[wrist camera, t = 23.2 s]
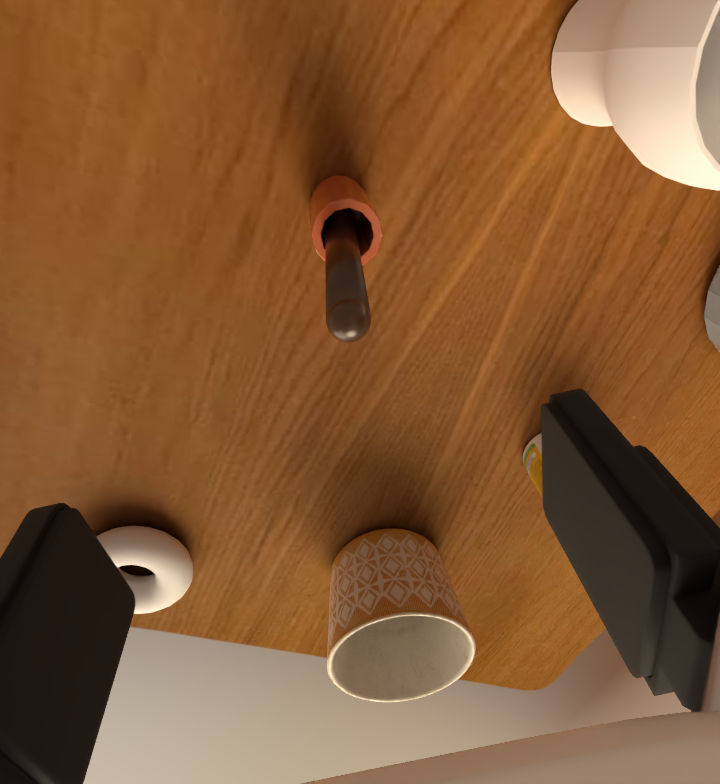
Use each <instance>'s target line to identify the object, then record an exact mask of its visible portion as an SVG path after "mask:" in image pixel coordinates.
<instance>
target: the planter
mask: <svg viewBox="0 0 720 784" xmlns="http://www.w3.org/2000/svg"><path fill="white" fill-rule="evenodd" d="M475 650H476V646H475V641H474V638H473V635H472V633H471V630H470V628H469V626H468V623H467V621H466V618H465V616H464V613H463V611H462V608H461V606H460V603H459V601H458V599H457V596H456V594H455V591H454V589H453V586H452V584H451V581H450V579H449V576H448V574H447V572H446V569H445V567H444V564H443V562H442V559H441V557H440V554H439V552H438V551H437V549H436V547H435V546H434V545H433V544H432V543H431V542H430V541H429V540H428V539H426V538H425V537H423V536H422V535H419V534H417V533H415V532H412V531H409V530H404V529H380V530H375V531H372V532H368V533H365V534H363V535H361V536H359V537H357V538H355V539H353V540H352V541H351V542H349V543H348V544H347V545H346V546H345V547H344V548H343V549H342V550H341V551H340V552H339V553H338V555H337V557H336V558H335V560H334V562H333V565H332V570H331V584H330V607H329V629H328V651H327V671H328V674H329V677H330V678H331V680H332V682H333V683H334V684H335V685H336V686H337V687H338V688H339V689H341V690H342V691H343V692H345V693H347V694H349V695H351V696H354V697H357V698H360V699H364V700H368V701H376V702H399V701H407V700H412V699H417V698H420V697H424V696H427V695H430V694H433V693H435V692H437V691H439V690H441V689H443V688H445V687H447V686H449V685H450V684H452V683H453V682H455V681H456V680H457V679H459V678H460V677H461V676H462V675H463V674H464V673H465V672H466V671H467V669H468V668H469V666H470V665H471V663H472V661H473V659H474V656H475Z"/></svg>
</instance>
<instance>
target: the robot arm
mask: <svg viewBox="0 0 720 784" xmlns="http://www.w3.org/2000/svg"><path fill="white" fill-rule="evenodd" d="M541 437H542V491H543V507H544V511H545V515H546V517H547V520H548V522H549V524H550V525H551V527H552V529H553V531H554V533H555V535H556V537H557V538H558V540H559V542H560V544H561V546H562V548H563V549H564V551H565V553H566V555H567V557H568V559H569V561H570V562H571V564H572V566H573V568H574V570H575V572H576V573H577V575H578V577H579V579H580V581H581V583H582V585H583V586H584V588H585V590H586V592H587V594H588V596H589V597H590V599H591V601H592V603H593V605H594V607H595V609H596V610H597V612H598V614H599V616H600V618H601V620H602V621H603V623H604V625H605V627H606V629H607V630H608V632H609V634H610V636H611V638H612V640H613V642H614V644H615V645H616V647H617V649H618V651H619V653H620V654H621V657H622V658H623V660H624V662H625V664H626V666H627V668H628V669H629V671H630V672H631V673H632V675H633V676H634V677H635V678H640V677H644V678H645V680H646V682H647V684H648V686H649V687H650V689H651V691H652V693H653V695H654V696H656V695H661V694H665V693H671V692H675V694H676V695H677V697H678V699H679V700H680V702H681V704H682V705H683V706H684V707H686V708H688V709H690V710H691V712H683V713H676V714H667V715H660V716H652V717H644V718H636V719H629V720H623V721H618V722H612V723H607V724H601V725H596V726H591V727H585V728H580V729H574V730H569V731H563V732H558V733H552V734H546V735H541V736H535V737H530V738H525V739H520V740H515V741H510V742H505V743H500V744H495V745H490V746H485V747H480V748H475V749H470V750H465V751H460V752H455V753H450V754H445V755H440V756H435V757H430V758H425V759H420V760H416V761H410V762H405V763H401V764H395V765H390V766H385V767H380V768H376V769H370V770H366V771H361V772H356V773H351V774H346V775H341V776H336V777H331V778H327V779H322V780H317V781H312V782H307V783H303V784H720V528H719V527H718V526H717V525H716V524H715V523H714V521H713V520H712V519H711V518H710V517H709V516H708V515H707V514H706V513H705V511H704V510H703V509H702V508H701V507H700V506H699V505H698V504H697V503H696V501H695V500H694V499H693V498H692V497H691V496H690V495H689V494H688V493H687V491H686V490H685V489H684V488H683V487H682V486H681V485H680V484H679V483H678V481H677V480H676V479H675V478H674V477H673V476H672V475H671V474H670V473H669V471H668V470H667V469H666V468H665V467H664V466H663V465H662V464H661V463H660V461H659V460H658V459H657V458H656V457H655V456H654V455H653V454H652V453H651V452H650V451H649V450H648V449H647V448H646V447H643V446H640V445H639V446H635V447H633V446H632V445H631V444H630V443H629V441H628V440H627V439H626V438H625V437H624V436H623V435H622V433H621V432H620V431H619V430H618V429H617V428H616V426H615V425H614V424H613V423H612V422H611V421H610V420H609V418H608V417H607V416H606V415H605V414H604V413H603V411H602V410H601V409H600V408H599V407H598V406H597V405H596V403H595V402H594V401H593V400H592V399H591V398H590V396H589V395H588V394H587V393H586V392H585V391H584V390H583V389H580V388H579V389H575V390H570V391H566V392H561V393H557V394H552V395H551V396H550V399H549V403H546V404H543V405H542V407H541ZM134 611H135V596H134V593H133V591H132V589H131V588H130V586H129V585H128V583H127V582H126V580H125V579H124V577H123V576H122V574H121V573H120V571H119V570H118V568H117V567H116V565H115V564H114V562H113V561H112V559H111V558H110V556H109V555H108V553H107V552H106V551H105V549H104V548H103V546H102V545H101V543H100V542H99V540H98V539H97V537H96V536H95V534H94V533H93V531H92V530H91V528H90V527H89V525H88V524H87V522H86V521H85V519H84V518H83V516H82V515H81V513H80V512H79V511H78V510H77V509H75V508H70V507H69V506H68V505H66V504H64V503H58V504H54V505H49V506H45V507H40V508H35V509H33V510H31V511H29V512H28V514H27V515H26V516H25V518H24V520H23V521H22V523H21V525H20V526H19V528H18V530H17V531H16V533H15V535H14V536H13V538H12V540H11V541H10V543H9V545H8V546H7V548H6V550H5V551H4V553H3V555H2V557H1V558H0V784H83V782H84V779H85V775H86V772H87V768H88V765H89V762H90V759H91V755H92V752H93V748H94V745H95V742H96V738H97V735H98V732H99V728H100V725H101V721H102V718H103V715H104V712H105V708H106V705H107V701H108V698H109V695H110V691H111V688H112V685H113V681H114V678H115V674H116V671H117V668H118V664H119V661H120V657H121V654H122V651H123V648H124V644H125V641H126V638H127V634H128V631H129V628H130V624H131V621H132V617H133V614H134Z"/></svg>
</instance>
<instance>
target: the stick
mask: <svg viewBox="0 0 720 784" xmlns="http://www.w3.org/2000/svg"><path fill="white" fill-rule="evenodd" d="M325 259H326V323H327V327H328V330H329V332H330V333H331V334H332V335H333V336H334V337H335V338H336V339H338V340H340V341H343V342H355V341H358V340H360V339H361V338H363V337H364V336H365V335H366V334H367V332H368V330H369V328H370V325H371V314H370V308H369V302H368V296H367V291H366V285H365V279H364V273H363V267H362V261H361V256H360V250H359V244H358V238H357V232H356V226H355V221H354V215H353V211H352V209H351V208H346V209H342V210H337V211H334V212H333V213H332V214H331V215H330V216H329V217H328V218H327V219H326V220H325Z"/></svg>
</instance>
